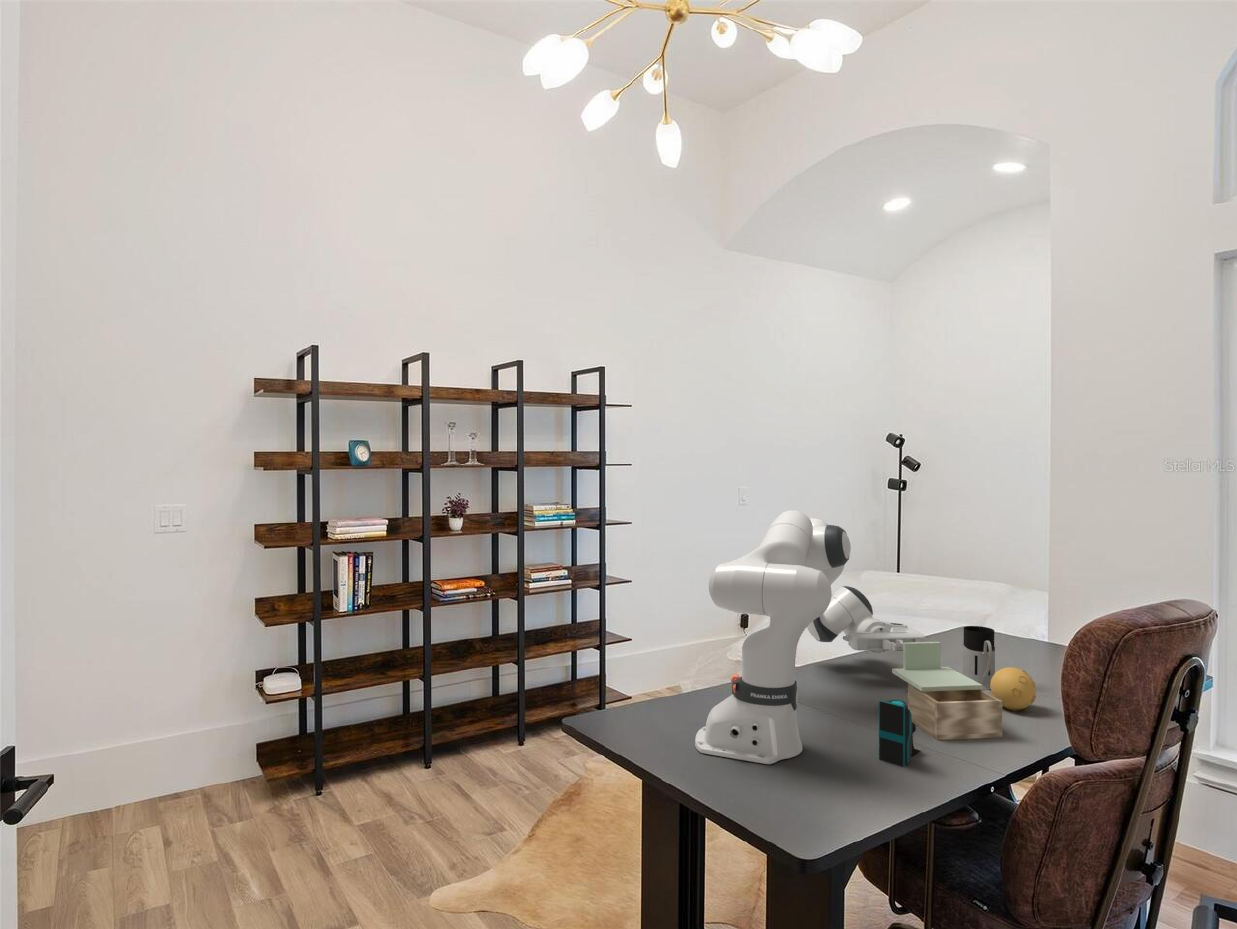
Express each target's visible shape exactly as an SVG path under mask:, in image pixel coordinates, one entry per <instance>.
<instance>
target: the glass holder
mask: <svg viewBox="0 0 1237 929" xmlns="http://www.w3.org/2000/svg"><path fill="white" fill-rule="evenodd" d="M995 673H996V647H995V629H994V628H991V627H986V626H980V625H979V626H978V625H967V626H964V627H963V642H962V674H963V675H964V676H966V677H968V678H970V679H972V680H974V681H976V682H978V683H980V684H981V685H983V686H982V689H983V691H987V690H989V691H991V690H990V683H991V679H992V677H993V675H994V674H995Z"/></svg>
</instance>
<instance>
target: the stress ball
mask: <svg viewBox="0 0 1237 929" xmlns="http://www.w3.org/2000/svg"><path fill="white" fill-rule="evenodd" d="M990 689H991V690H990V692H991V695H992V696H994V697H996V698H998V699H999V700H1001V701H1002V707H1005V708H1006V709H1007V710H1008V711H1009V710H1010V711H1013V712H1015V711H1019V710H1022V709H1026V708H1027V707H1029V706H1030V705H1031V704H1034V702H1035V700H1036V698H1037V695H1036V694H1037V688H1036V683H1035V681H1034V679H1033V677H1032V676H1030V675H1029V674H1028V672H1026V670H1023V669H1020V668H1019V667H1018V668H1017V667H1008V666H1007V667H1003V668H1001V669H999V670H997V671H995V674H994V675H993V677H992V679H991V683H990Z"/></svg>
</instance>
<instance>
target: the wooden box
mask: <svg viewBox="0 0 1237 929" xmlns="http://www.w3.org/2000/svg"><path fill="white" fill-rule="evenodd" d="M907 703H908V709H909V710H910V712H911V714H912V722H913V723H914V724H915V726H916V727H917V726H918V727H919V728H920V729H922V730H923V731H924V732H925V733H926V734H928V735H929V736H931V737H932V738H934V739H935V740H937V741H940V740H941V741H942V740H946V741H947V740H964V739H965V740H967V739H969V740H970V739H971V740H972V739H990V738H991V739H993V738H994V739H995V738H1003V706H1002V701H1001V700H999V699H998V698H996V697H994V696H993V695H992V694H991V693H988V692H987V691H986V690H981V689H980V690H951V691H920V690H918V689H917V688H915V687H914V686H912V685H911V684H909V683H907Z"/></svg>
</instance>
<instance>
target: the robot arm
mask: <svg viewBox="0 0 1237 929" xmlns="http://www.w3.org/2000/svg"><path fill="white" fill-rule="evenodd" d="M850 554H851V542H850V537H849V536H848V533H847V531H846V530H845V529H844V528H842V527H841V526H838V525H834V524H828V523H827V522H826V521H825V520H823V519H820V518H815V517H811V518H810V517H809V516H808V515H807V514H805V513H803V512H802V511H801V510H800V511H799V510H795V509H791V510H790V509H788V510H786V511H783V512H781V513H779V514H778V516H777V517H776V518H774V520H773V521H772V522H771V524H769V526H768V527H767V529H766V531H765V534H764V535H763V537H762V540H761V541H760V543H759V544H758V546H757V547H756V548H754V549H753V550H751V551H749V552H748V553H746V554H744V555H743V556H740V557H739V558H736V559H734V560H730V561H728V562H723V563H720V564H718V565H717V566H716V567H715V568H714V569H713V570H712V572H711V574H710V577H709V580H708V592H709V596H710V599H711V600H712V602H713V603H714V605H715V606H716V607H717V608H721V609H723V610H727V611H731V612H732V613H733V612H734V613H738V614H747V615H748V614H749V615H758V616H767V617H769V626H768V627H766V628H763V629H760V630H758V631H755V632H753V633H751V634H749V635H748V636H747V637H746V638H745V640H744V641H743V643H742V646H741V676H740V675H739V674H737V673H734V674H732V676H731V679H730V682H731V685H732V686H731V692H732V694H731V695H729V696H728V697H726V698H725V699H723V700H722V701H721V702H719V703H718V704H716V705H714V707H712V708H711V709H710V712H709V713H708V715H707V718H706V723H705V726H703V727H701V728H700V729H699V730H698V731H697V732H696V735H695V737H694V738H695V740H694V747H695V748H696V750H697V751H698V752H699V753H701V754H706V755H712V756H715V757H717V756H718V757H722V758H724V757H725V758H728V759H729V758H730V759H734V760H740V761H747V762H753V763H758V764H759V763H760V764H765V765H772V764H775V763H777V762H778V761H781V760H785V759H786V760H787V759H791V758H793V757H796V756H798V755H800V754H801V753H802V752H803V744H802V741H801V737H800V733H799V728H798V726H799V725H798V721H797V720H798V719H797V706H798V697H799V696H798V684H797V680H796V657H797V649H798V645H799V644H798V643H799V641H800V638H801V637H802V635H803V633H804V632H805V630H806V629H807V631H808V632H809V634H810V635H811V636H812V637H813V638H814V639H815V640H816V641H817V642H820V643H832V642H833V641H834V640H835V639H837V637H839V635H840V634H841V633H842V632H843V634H844V635H843V636H842V639H843V641H845V642H848V646H849V647H850V648H851V649H853V650H855V651H857V652H858V651H869V652H872V653H875V654H882V653H884V652H889V651H893V652H903V643H905V642H927V638H926V636H925V634H923V633H921V632H920V631H917V630H915V629H912V628H910V627H908V625H907V624H904V623H898V622H897V623H896V622H888V621H885V620H881V619H877V618H875V617H873V615H874V612H873V606H872V604H871V602H870V601H869V599H868V598H867V596H866V595H864V594H863V593H862V592H861V590H859V589H857V588H856V587H852V586H849V585H843V586H841V587H840V588H838V589H836V591H835V592H834V593H832V592H833V591H832V585H833V583H835V581H836V580H837V579H838V578H839V577H840V575H841V574H842V573H843V571H844V569H845V564H846V563H847V562H848V561H849V560H850V556H851V555H850Z"/></svg>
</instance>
